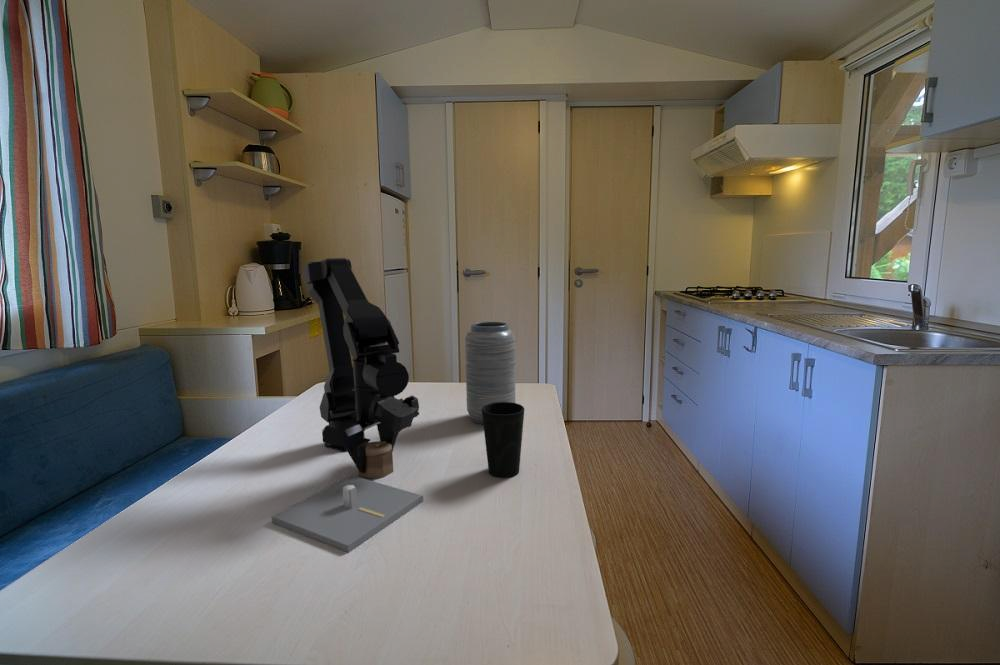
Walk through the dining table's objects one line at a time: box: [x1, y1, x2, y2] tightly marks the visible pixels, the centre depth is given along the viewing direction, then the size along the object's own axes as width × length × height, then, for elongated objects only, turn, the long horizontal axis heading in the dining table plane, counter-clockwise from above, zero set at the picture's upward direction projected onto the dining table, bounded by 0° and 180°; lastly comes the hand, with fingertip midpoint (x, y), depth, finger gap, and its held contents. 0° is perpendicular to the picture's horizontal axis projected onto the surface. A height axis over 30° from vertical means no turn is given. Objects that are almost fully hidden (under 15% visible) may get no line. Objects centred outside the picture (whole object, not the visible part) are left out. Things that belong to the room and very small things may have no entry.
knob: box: [357, 440, 394, 480], centre depth 94 cm, size 6×6×5 cm
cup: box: [482, 402, 525, 479], centre depth 92 cm, size 8×8×12 cm
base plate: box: [271, 475, 424, 553], centre depth 79 cm, size 16×16×4 cm
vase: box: [464, 321, 517, 425], centre depth 120 cm, size 12×12×23 cm
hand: (375, 465), depth 94 cm, fingers closed on knob, 6 cm apart
